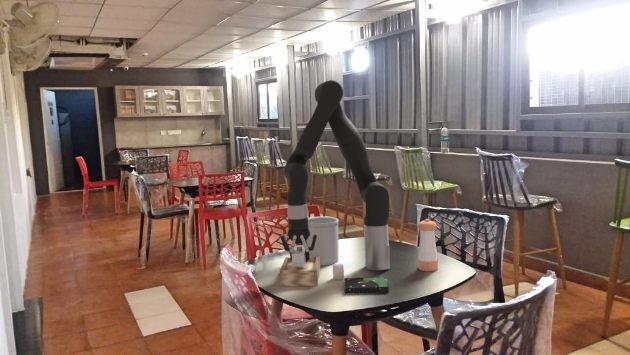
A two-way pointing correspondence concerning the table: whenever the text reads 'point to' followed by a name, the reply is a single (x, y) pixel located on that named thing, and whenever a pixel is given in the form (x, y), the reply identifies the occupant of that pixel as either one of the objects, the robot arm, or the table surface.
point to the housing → (299, 256)
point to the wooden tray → (300, 273)
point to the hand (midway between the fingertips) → (300, 261)
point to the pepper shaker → (427, 246)
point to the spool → (338, 272)
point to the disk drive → (366, 285)
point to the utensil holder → (324, 239)
